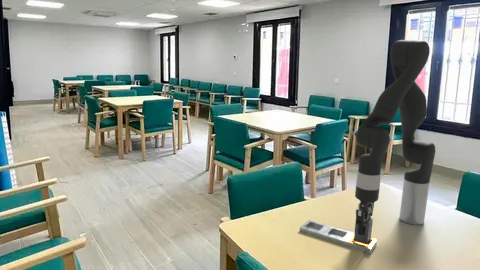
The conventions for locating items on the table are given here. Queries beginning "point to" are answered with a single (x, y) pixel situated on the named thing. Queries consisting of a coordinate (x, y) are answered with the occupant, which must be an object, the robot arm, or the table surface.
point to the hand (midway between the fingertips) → (363, 231)
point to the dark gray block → (368, 230)
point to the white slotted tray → (337, 236)
